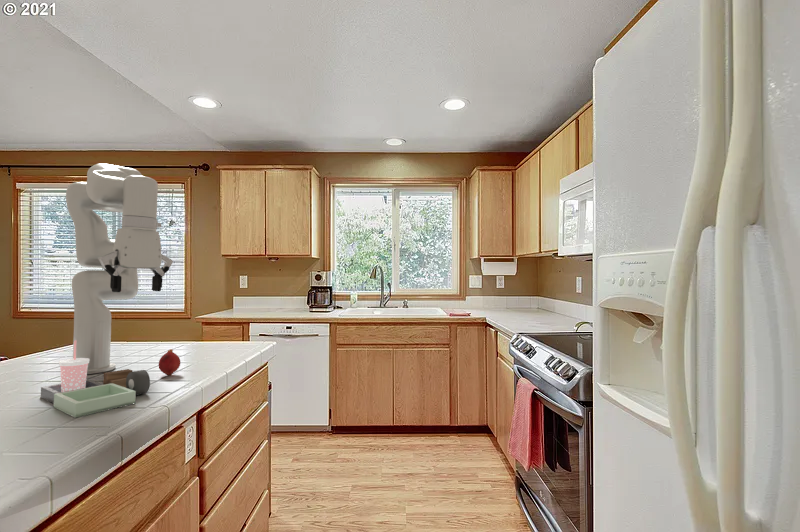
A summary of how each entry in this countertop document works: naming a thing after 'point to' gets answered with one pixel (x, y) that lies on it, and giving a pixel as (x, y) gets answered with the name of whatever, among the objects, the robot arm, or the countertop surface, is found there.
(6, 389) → the countertop surface
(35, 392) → the countertop surface
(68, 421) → the countertop surface
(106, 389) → the tray
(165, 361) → the onion
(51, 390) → the socket ring
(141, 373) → the caster wheel
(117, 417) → the countertop surface
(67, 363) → the beverage cup
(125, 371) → the block
